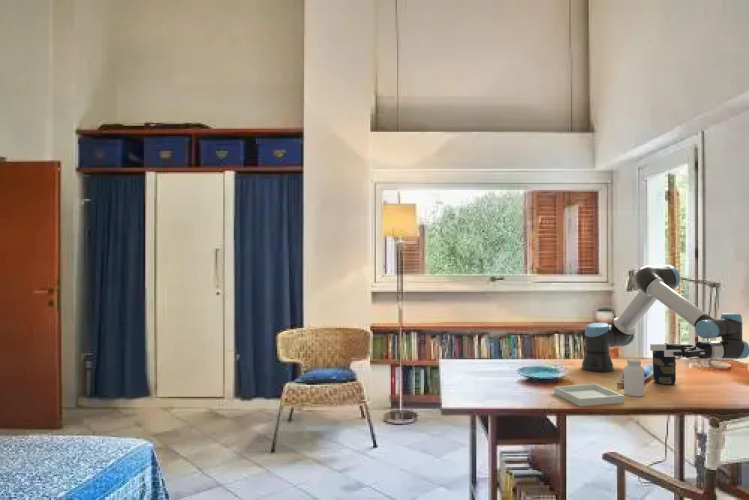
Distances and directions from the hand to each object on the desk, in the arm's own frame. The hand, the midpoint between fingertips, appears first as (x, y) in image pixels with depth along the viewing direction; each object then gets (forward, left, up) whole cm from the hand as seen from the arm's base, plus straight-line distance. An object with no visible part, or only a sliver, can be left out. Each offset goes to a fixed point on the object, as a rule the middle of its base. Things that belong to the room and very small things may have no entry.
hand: (657, 350), depth 240 cm
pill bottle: (-3, -9, -19) cm, 22 cm away
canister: (-17, +17, -19) cm, 30 cm away
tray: (-3, -31, -19) cm, 37 cm away
